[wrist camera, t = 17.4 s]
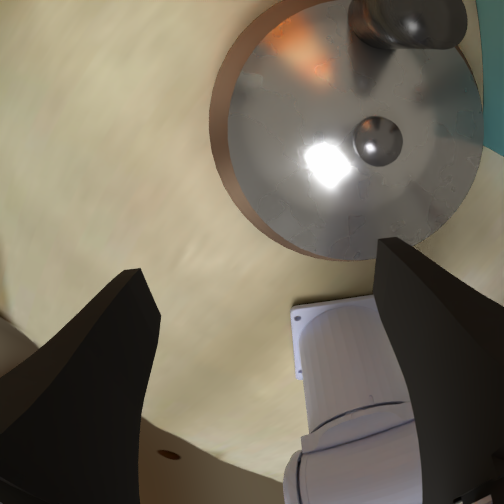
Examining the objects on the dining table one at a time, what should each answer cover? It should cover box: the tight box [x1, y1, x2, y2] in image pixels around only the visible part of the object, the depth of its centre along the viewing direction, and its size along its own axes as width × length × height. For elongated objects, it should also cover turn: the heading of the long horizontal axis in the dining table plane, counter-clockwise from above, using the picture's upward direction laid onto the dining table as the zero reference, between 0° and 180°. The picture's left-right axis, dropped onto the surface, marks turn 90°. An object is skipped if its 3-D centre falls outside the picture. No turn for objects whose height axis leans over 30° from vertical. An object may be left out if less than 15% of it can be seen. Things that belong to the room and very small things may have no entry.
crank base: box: [209, 0, 478, 261], centre depth 15 cm, size 16×16×1 cm
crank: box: [228, 0, 484, 260], centre depth 12 cm, size 14×14×6 cm
